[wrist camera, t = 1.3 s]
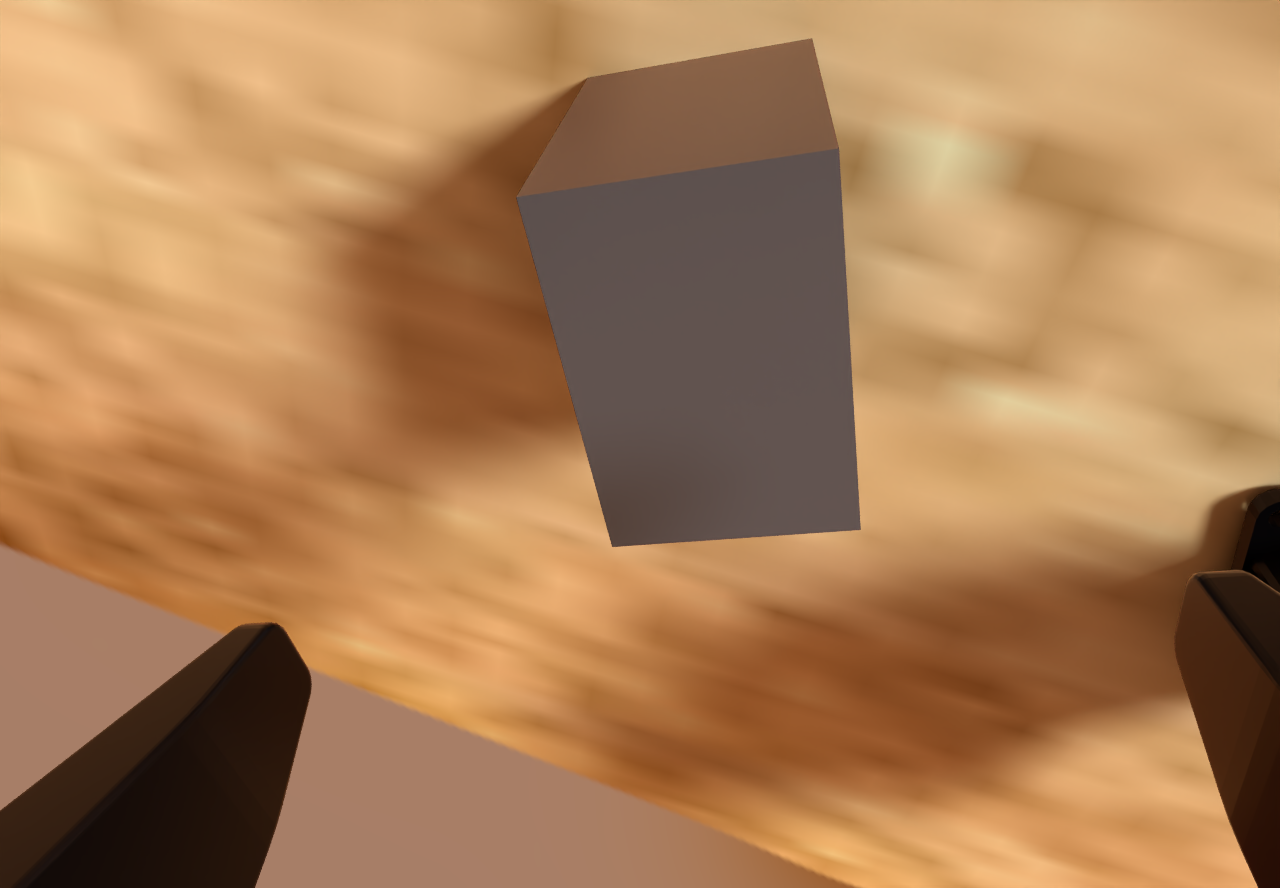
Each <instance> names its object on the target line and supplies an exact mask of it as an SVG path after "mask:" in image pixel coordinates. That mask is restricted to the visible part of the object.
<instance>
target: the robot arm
mask: <svg viewBox="0 0 1280 888" xmlns="http://www.w3.org/2000/svg"><path fill="white" fill-rule="evenodd" d="M1278 510H1280V489H1275V490H1270V491H1266V492H1264V493H1262V494H1260V495H1258V496H1257V497H1256V498H1255V499H1254V500H1252V501H1251V503H1250V505H1249V507H1248V509H1247V513H1246V516H1245V520H1244V524H1243V528H1242V531H1241V535H1240V539H1239V542H1238V546H1237V550H1236V553H1235V557H1234V561H1233V565H1232V568H1231V570H1226V571H1207V572H1198V573H1195V574H1193V575H1192V576H1191V577H1190V578H1189V579H1188V582H1187V584H1186V588H1185V592H1184V597H1183V601H1182V605H1181V610H1180V614H1179V618H1178V623H1177V627H1176V631H1175V652H1176V658H1177V661H1178V665H1179V668H1180V671H1181V674H1182V677H1183V681H1184V684H1185V687H1186V690H1187V693H1188V696H1189V699H1190V702H1191V706H1192V709H1193V712H1194V715H1195V718H1196V721H1197V724H1198V728H1199V731H1200V734H1201V737H1202V740H1203V743H1204V746H1205V749H1206V753H1207V756H1208V759H1209V762H1210V765H1211V768H1212V771H1213V774H1214V778H1215V781H1216V784H1217V787H1218V790H1219V793H1220V796H1221V799H1222V802H1223V805H1224V808H1225V811H1226V814H1227V817H1228V819H1229V822H1230V825H1231V827H1232V829H1233V832H1234V834H1235V837H1236V839H1237V841H1238V844H1239V846H1240V848H1241V851H1242V853H1243V855H1244V857H1245V860H1246V862H1247V864H1248V866H1249V868H1250V871H1251V873H1252V875H1253V877H1254V880H1255V882H1256V884H1257V886H1258V888H1280V512H1279V513H1277V514H1273V513H1274V512H1276V511H1278ZM1271 514H1273V515H1271ZM311 685H312V684H311V675H310V672H309V669H308V667H307V666H306V664H305V662H304V661H303V659H302V657H301V656H300V654H299V652H298V651H297V649H296V647H295V646H294V644H293V642H292V641H291V639H290V637H289V636H288V634H287V632H286V631H285V630H284V628H283V627H282V626H280V625H279V624H277V623H272V622H269V623H251V624H244V625H240V626H238V627H236V628H235V629H233V630H232V631H231V632H230V633H228V634H227V635H226V636H224V637H223V638H222V639H221V640H219V641H218V642H217V643H216V644H214V645H213V646H212V647H210V648H209V649H208V650H206V651H205V652H204V653H202V654H201V655H200V656H199V657H197V658H196V659H195V660H193V661H192V662H191V663H190V664H188V665H187V666H186V667H184V668H183V669H182V670H181V671H179V672H178V673H177V674H175V675H174V676H173V677H172V678H170V679H169V680H168V681H166V682H165V683H164V684H163V685H161V686H160V687H159V688H157V689H156V690H155V691H154V692H152V693H151V694H150V695H148V696H147V697H146V698H145V699H143V700H142V701H141V702H140V703H138V704H137V705H136V706H134V707H133V708H132V709H130V710H129V711H128V712H127V713H125V714H124V715H123V716H121V717H120V718H119V719H118V720H116V721H115V722H114V723H112V724H111V725H110V726H109V727H107V728H106V729H105V730H103V731H102V732H101V733H100V734H98V735H97V736H96V737H94V738H93V739H92V740H90V741H89V742H88V743H87V744H85V745H84V746H83V747H81V748H80V749H79V750H78V751H76V752H75V753H74V754H72V755H71V756H70V757H69V758H67V759H66V760H65V761H63V762H62V763H61V764H60V765H58V766H57V767H56V768H54V769H53V770H52V771H51V772H49V773H48V774H47V775H45V776H44V777H43V778H42V779H40V780H39V781H38V782H36V783H35V784H34V785H33V786H31V787H30V788H29V789H27V790H26V791H25V792H24V793H22V794H21V795H20V796H18V797H17V798H16V799H15V800H13V801H12V802H11V803H9V804H8V805H7V806H6V807H4V808H3V809H2V810H0V888H255V886H256V883H257V880H258V878H259V875H260V872H261V869H262V866H263V864H264V861H265V858H266V856H267V853H268V850H269V847H270V844H271V841H272V838H273V835H274V832H275V829H276V826H277V823H278V819H279V816H280V812H281V809H282V805H283V801H284V798H285V793H286V790H287V786H288V782H289V778H290V774H291V770H292V766H293V762H294V758H295V754H296V750H297V746H298V742H299V738H300V734H301V730H302V726H303V722H304V719H305V714H306V710H307V707H308V702H309V699H310V694H311Z"/></svg>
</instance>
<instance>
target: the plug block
mask: <svg viewBox="0 0 1280 888" xmlns="http://www.w3.org/2000/svg"><path fill="white" fill-rule="evenodd" d="M516 198H517V202H518V206H519V209H520V213H521V216H522V220H523V224H524V227H525V231H526V235H527V238H528V242H529V246H530V249H531V253H532V257H533V260H534V264H535V267H536V271H537V275H538V278H539V282H540V286H541V289H542V293H543V297H544V300H545V304H546V307H547V311H548V315H549V318H550V322H551V326H552V329H553V333H554V337H555V340H556V344H557V348H558V351H559V355H560V358H561V362H562V366H563V369H564V373H565V377H566V380H567V384H568V388H569V391H570V395H571V398H572V402H573V406H574V409H575V413H576V417H577V420H578V424H579V428H580V431H581V435H582V439H583V442H584V446H585V449H586V453H587V457H588V460H589V464H590V468H591V471H592V475H593V479H594V482H595V486H596V490H597V493H598V497H599V500H600V504H601V508H602V511H603V515H604V519H605V522H606V526H607V530H608V533H609V537H610V540H611V544H612V547H618V546H633V545H647V544H662V543H676V542H691V541H705V540H720V539H734V538H749V537H764V536H778V535H793V534H807V533H822V532H836V531H851V530H861V527H860V510H859V492H858V475H857V457H856V440H855V422H854V405H853V387H852V369H851V352H850V334H849V317H848V299H847V282H846V264H845V247H844V229H843V212H842V194H841V176H840V159H839V147H838V143H837V139H836V134H835V130H834V126H833V122H832V118H831V114H830V110H829V106H828V102H827V98H826V94H825V90H824V85H823V81H822V77H821V73H820V69H819V65H818V61H817V57H816V53H815V49H814V45H813V40H812V39H806V40H801V41H795V42H789V43H784V44H778V45H772V46H766V47H761V48H755V49H749V50H744V51H738V52H732V53H727V54H721V55H715V56H710V57H704V58H698V59H692V60H687V61H681V62H675V63H670V64H664V65H658V66H653V67H647V68H641V69H636V70H630V71H624V72H618V73H613V74H607V75H601V76H596V77H590V78H587V80H586V81H585V83H584V85H583V87H582V88H581V90H580V92H579V93H578V95H577V97H576V98H575V100H574V102H573V103H572V105H571V107H570V108H569V110H568V112H567V113H566V115H565V117H564V118H563V120H562V122H561V123H560V125H559V127H558V128H557V130H556V132H555V133H554V135H553V137H552V138H551V140H550V142H549V143H548V145H547V147H546V148H545V150H544V152H543V153H542V155H541V157H540V158H539V160H538V162H537V163H536V165H535V167H534V168H533V170H532V172H531V173H530V175H529V177H528V178H527V180H526V182H525V183H524V185H523V187H522V188H521V190H520V192H519V193H518V195H517V197H516Z"/></svg>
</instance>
